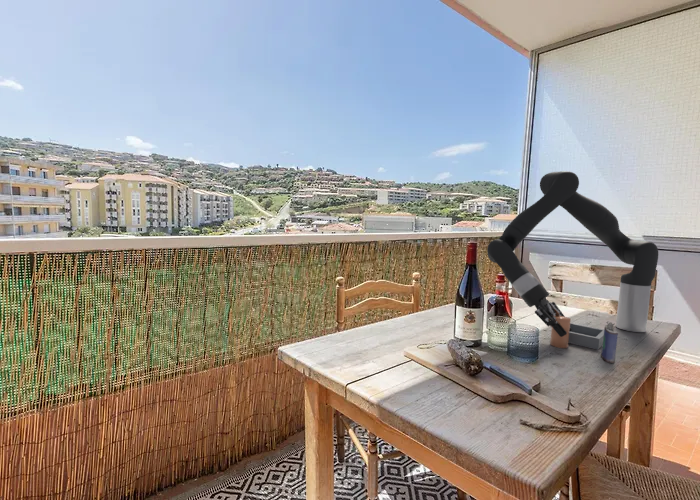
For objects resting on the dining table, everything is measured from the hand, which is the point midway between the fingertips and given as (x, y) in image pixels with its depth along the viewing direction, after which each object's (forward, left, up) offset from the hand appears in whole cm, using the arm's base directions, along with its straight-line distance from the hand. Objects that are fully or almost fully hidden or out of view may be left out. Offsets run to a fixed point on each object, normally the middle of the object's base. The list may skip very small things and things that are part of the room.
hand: (566, 333), depth 119 cm
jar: (0, -2, -4) cm, 5 cm away
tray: (-12, +1, -4) cm, 13 cm away
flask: (+1, +11, -5) cm, 12 cm away
